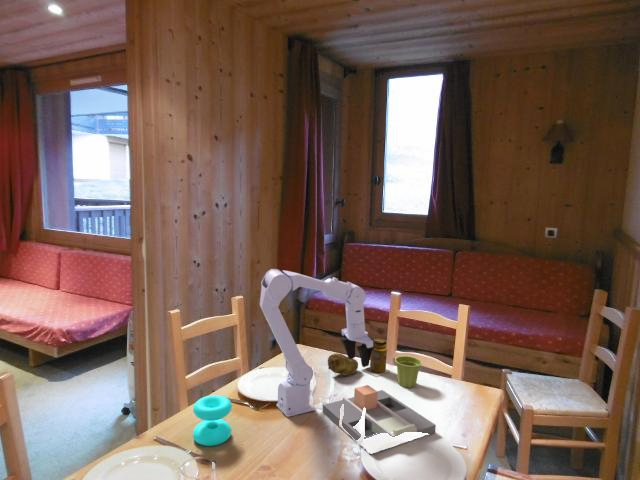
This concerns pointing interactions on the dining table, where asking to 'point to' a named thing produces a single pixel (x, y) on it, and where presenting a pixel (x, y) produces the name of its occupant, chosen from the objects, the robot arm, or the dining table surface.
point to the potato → (342, 364)
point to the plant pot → (407, 370)
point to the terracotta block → (365, 397)
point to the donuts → (212, 420)
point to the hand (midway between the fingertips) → (358, 362)
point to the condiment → (378, 358)
